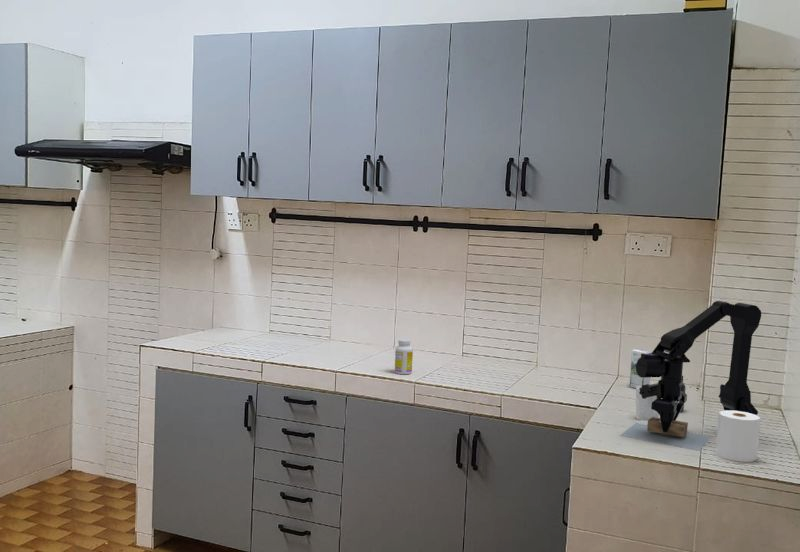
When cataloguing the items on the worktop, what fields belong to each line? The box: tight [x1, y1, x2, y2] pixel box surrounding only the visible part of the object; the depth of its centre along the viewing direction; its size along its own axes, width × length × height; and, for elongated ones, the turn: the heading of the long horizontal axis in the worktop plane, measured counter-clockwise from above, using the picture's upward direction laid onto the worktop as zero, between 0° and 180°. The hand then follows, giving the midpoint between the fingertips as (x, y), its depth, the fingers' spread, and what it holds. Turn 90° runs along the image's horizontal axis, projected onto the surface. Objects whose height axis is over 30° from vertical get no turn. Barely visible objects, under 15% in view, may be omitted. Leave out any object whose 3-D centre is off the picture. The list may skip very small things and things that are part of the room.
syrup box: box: [629, 348, 653, 390], centre depth 297 cm, size 6×6×14 cm
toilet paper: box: [715, 409, 761, 463], centre depth 213 cm, size 10×10×12 cm
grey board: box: [619, 422, 712, 452], centre depth 230 cm, size 22×18×3 cm
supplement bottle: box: [394, 338, 414, 375], centre depth 304 cm, size 7×7×13 cm
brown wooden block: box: [647, 417, 689, 437], centre depth 231 cm, size 10×6×3 cm, turn 59°
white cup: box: [635, 386, 660, 422], centre depth 251 cm, size 8×8×10 cm
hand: (667, 429), depth 231 cm, fingers closed on brown wooden block, 6 cm apart
